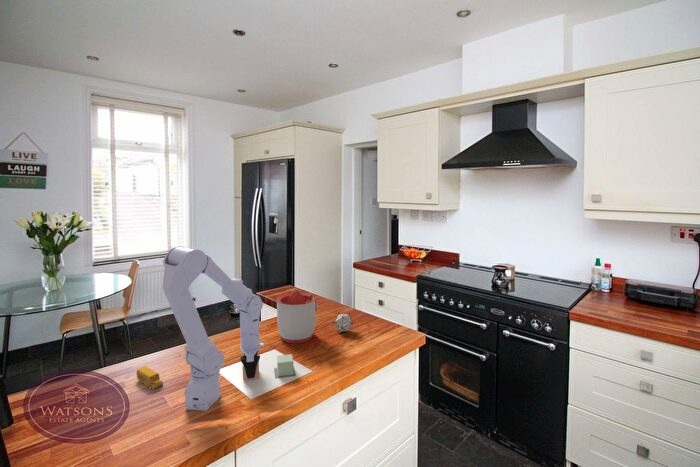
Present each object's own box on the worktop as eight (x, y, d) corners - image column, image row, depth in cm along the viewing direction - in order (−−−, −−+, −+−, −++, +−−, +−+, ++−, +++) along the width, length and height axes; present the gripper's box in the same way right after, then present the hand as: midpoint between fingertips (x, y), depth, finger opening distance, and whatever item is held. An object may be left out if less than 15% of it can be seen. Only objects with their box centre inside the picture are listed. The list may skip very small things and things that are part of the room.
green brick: (293, 374, 111) (293, 361, 110) (277, 376, 110) (277, 362, 109) (291, 367, 116) (291, 354, 115) (277, 369, 114) (276, 355, 114)
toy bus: (153, 391, 103) (152, 379, 103) (136, 381, 109) (136, 369, 108) (163, 386, 106) (163, 374, 106) (147, 376, 111) (146, 365, 111)
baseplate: (251, 402, 98) (250, 398, 98) (216, 373, 113) (216, 370, 113) (312, 374, 113) (312, 371, 113) (274, 351, 129) (274, 349, 129)
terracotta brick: (259, 378, 109) (258, 364, 108) (242, 380, 108) (242, 366, 107) (258, 370, 113) (258, 357, 113) (243, 372, 112) (243, 359, 112)
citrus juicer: (325, 343, 137) (325, 293, 134) (280, 350, 130) (279, 298, 128) (314, 328, 151) (314, 283, 149) (273, 334, 145) (272, 287, 142)
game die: (338, 339, 149) (327, 318, 151) (355, 330, 152) (344, 309, 154) (342, 337, 141) (330, 315, 143) (360, 327, 144) (348, 305, 146)
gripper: (263, 339, 103) (264, 383, 105) (262, 322, 117) (263, 360, 118) (238, 342, 101) (239, 386, 103) (240, 323, 115) (241, 363, 117)
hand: (251, 373), depth 110 cm, fingers closed on terracotta brick, 5 cm apart
